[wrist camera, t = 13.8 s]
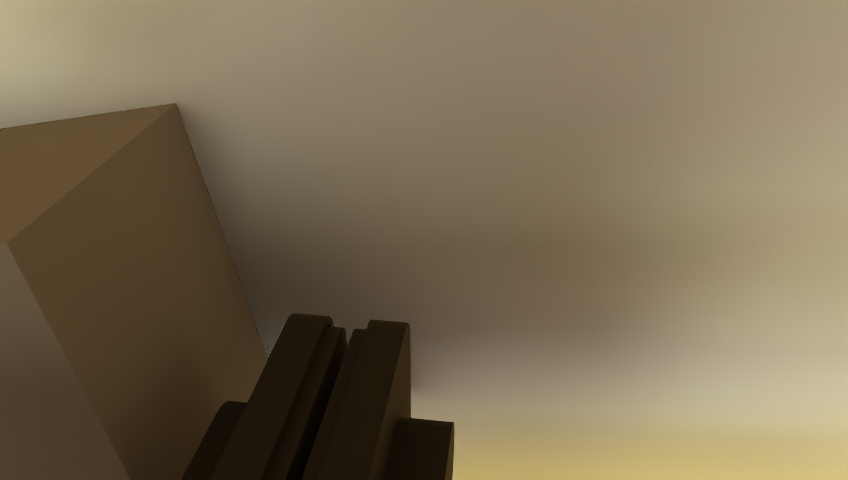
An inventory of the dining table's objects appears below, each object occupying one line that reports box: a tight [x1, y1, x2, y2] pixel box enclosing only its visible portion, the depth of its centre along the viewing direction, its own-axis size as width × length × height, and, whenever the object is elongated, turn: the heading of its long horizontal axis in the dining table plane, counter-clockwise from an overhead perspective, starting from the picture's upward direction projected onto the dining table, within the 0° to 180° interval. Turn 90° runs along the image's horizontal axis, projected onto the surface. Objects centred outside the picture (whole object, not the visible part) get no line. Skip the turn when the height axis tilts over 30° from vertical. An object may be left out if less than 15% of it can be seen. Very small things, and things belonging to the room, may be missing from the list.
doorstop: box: [0, 103, 268, 480], centre depth 11 cm, size 7×5×4 cm
